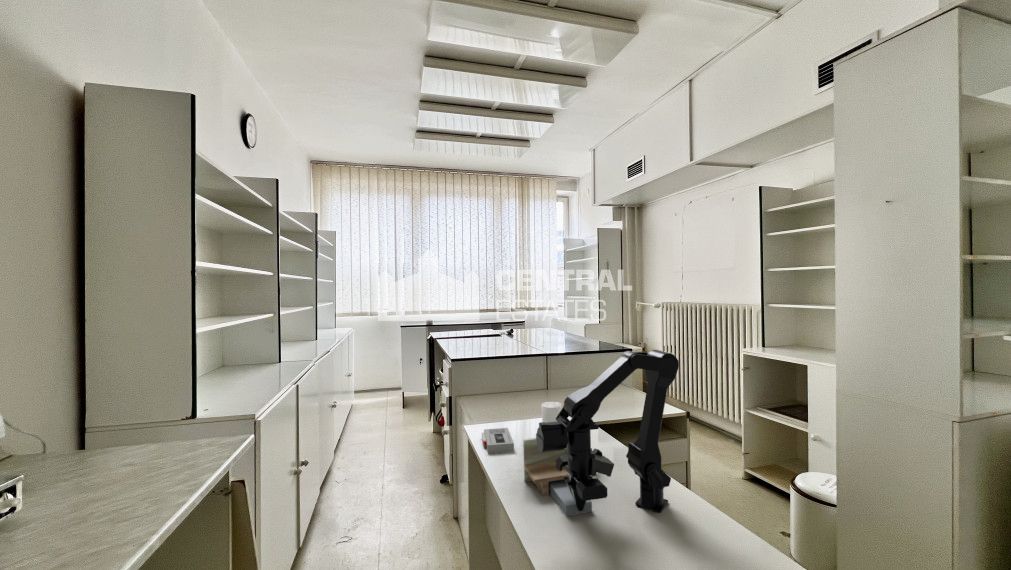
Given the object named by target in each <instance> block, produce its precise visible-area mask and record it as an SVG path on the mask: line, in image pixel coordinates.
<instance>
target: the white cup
mask: <svg viewBox="0 0 1011 570" xmlns="http://www.w3.org/2000/svg"><path fill="white" fill-rule="evenodd" d="M562 408H563V407H562V403H560V402H557V401H546V402H542V403H541V419H542V420H541V422H547V423H548V422H558V421H557V420H556V417H557V416H558V414H559V412H560V411H561V409H562Z"/></svg>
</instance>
